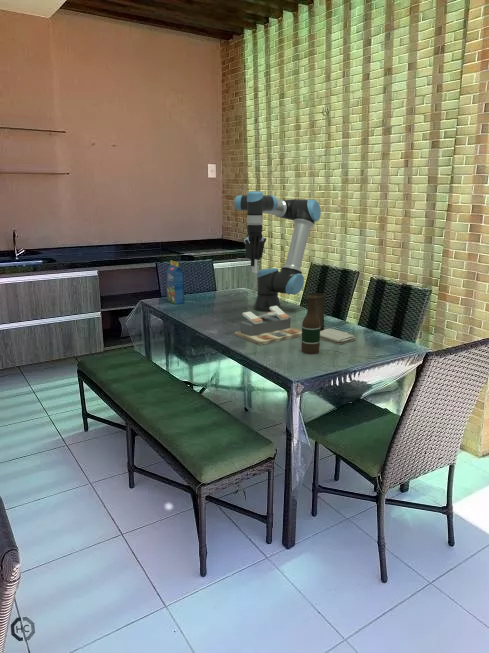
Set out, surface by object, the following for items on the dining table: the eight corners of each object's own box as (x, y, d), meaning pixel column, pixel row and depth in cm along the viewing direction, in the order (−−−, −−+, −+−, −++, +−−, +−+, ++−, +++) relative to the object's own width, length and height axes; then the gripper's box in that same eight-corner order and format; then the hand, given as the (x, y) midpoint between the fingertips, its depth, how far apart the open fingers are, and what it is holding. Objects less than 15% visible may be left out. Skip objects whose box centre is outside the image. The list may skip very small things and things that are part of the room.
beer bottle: (299, 348, 214) (301, 294, 208) (317, 348, 215) (319, 293, 209) (303, 354, 207) (304, 298, 200) (321, 354, 207) (323, 297, 201)
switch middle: (264, 319, 241) (263, 314, 241) (276, 316, 233) (275, 310, 233) (257, 320, 238) (255, 315, 238) (269, 317, 230) (268, 312, 230)
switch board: (280, 325, 250) (280, 322, 250) (307, 334, 235) (307, 331, 234) (234, 335, 235) (234, 331, 234) (260, 345, 219) (260, 341, 218)
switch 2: (275, 309, 245) (276, 305, 244) (287, 320, 239) (289, 316, 238) (268, 310, 243) (269, 306, 241) (280, 322, 237) (282, 317, 235)
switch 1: (249, 315, 236) (250, 310, 235) (262, 324, 229) (262, 319, 228) (242, 316, 234) (242, 312, 233) (254, 326, 227) (255, 321, 226)
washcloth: (340, 346, 219) (340, 339, 218) (310, 337, 233) (310, 331, 232) (357, 341, 226) (357, 334, 226) (327, 333, 240) (327, 326, 239)
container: (313, 334, 236) (314, 297, 231) (302, 329, 244) (303, 293, 239) (328, 331, 240) (330, 295, 235) (317, 327, 248) (318, 291, 243)
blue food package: (175, 304, 297) (173, 262, 291) (167, 300, 307) (165, 260, 301) (184, 303, 300) (183, 262, 294) (176, 299, 310) (175, 259, 304)
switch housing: (279, 324, 247) (280, 314, 246) (290, 327, 241) (290, 317, 240) (240, 332, 234) (240, 322, 232) (250, 336, 227) (250, 325, 226)
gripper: (260, 223, 248) (260, 270, 254) (239, 224, 240) (239, 272, 247) (270, 224, 242) (269, 272, 248) (248, 225, 235) (248, 274, 241)
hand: (254, 272), depth 247 cm, fingers closed
